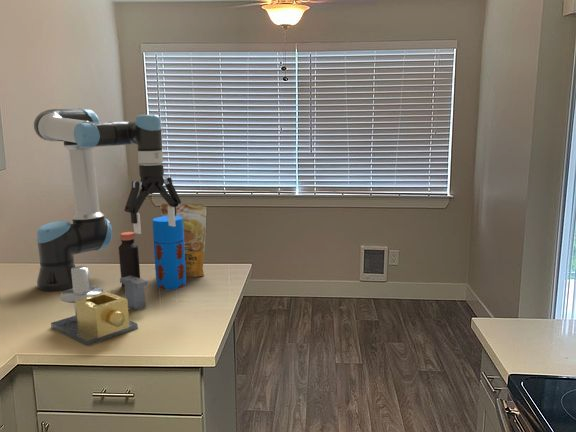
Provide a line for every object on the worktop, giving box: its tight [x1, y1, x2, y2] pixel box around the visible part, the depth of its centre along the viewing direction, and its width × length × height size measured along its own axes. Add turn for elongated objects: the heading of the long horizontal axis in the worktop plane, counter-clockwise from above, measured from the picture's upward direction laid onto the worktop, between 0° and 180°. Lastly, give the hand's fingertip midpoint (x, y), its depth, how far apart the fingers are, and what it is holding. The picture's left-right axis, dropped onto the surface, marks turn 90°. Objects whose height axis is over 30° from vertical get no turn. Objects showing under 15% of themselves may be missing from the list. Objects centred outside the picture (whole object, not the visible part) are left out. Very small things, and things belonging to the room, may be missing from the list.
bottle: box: [118, 231, 141, 289], centre depth 201 cm, size 7×7×20 cm
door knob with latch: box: [50, 265, 139, 347], centre depth 161 cm, size 26×16×18 cm, turn 49°
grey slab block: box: [119, 275, 149, 312], centre depth 179 cm, size 10×4×10 cm, turn 49°
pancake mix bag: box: [158, 203, 209, 278], centre depth 214 cm, size 7×19×28 cm, turn 76°
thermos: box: [152, 216, 187, 291], centre depth 201 cm, size 11×11×25 cm
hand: (155, 229), depth 178 cm, fingers open, 13 cm apart
